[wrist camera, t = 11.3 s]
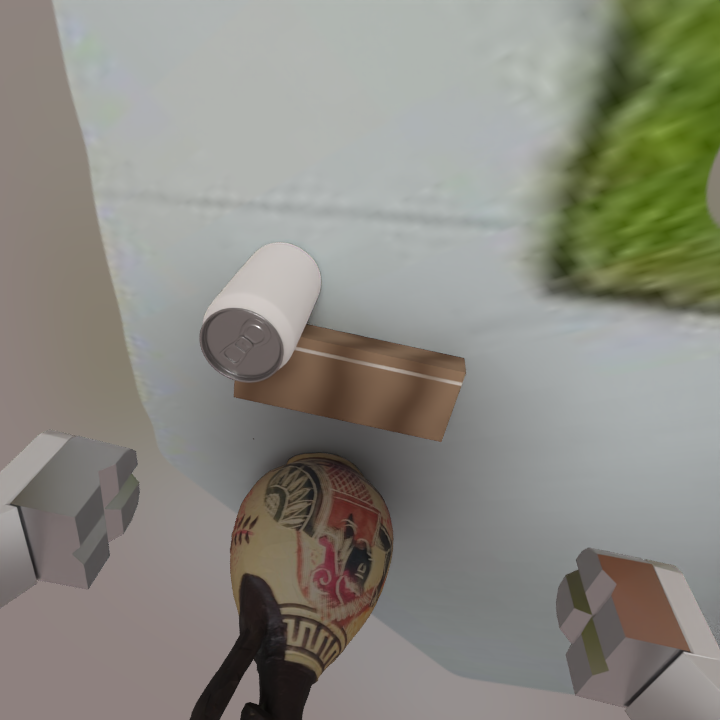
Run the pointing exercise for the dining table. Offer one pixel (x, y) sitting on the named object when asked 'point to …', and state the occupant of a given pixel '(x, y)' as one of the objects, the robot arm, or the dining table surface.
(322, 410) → the plank
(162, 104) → the dining table surface
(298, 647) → the ceramic jug
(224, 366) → the can
